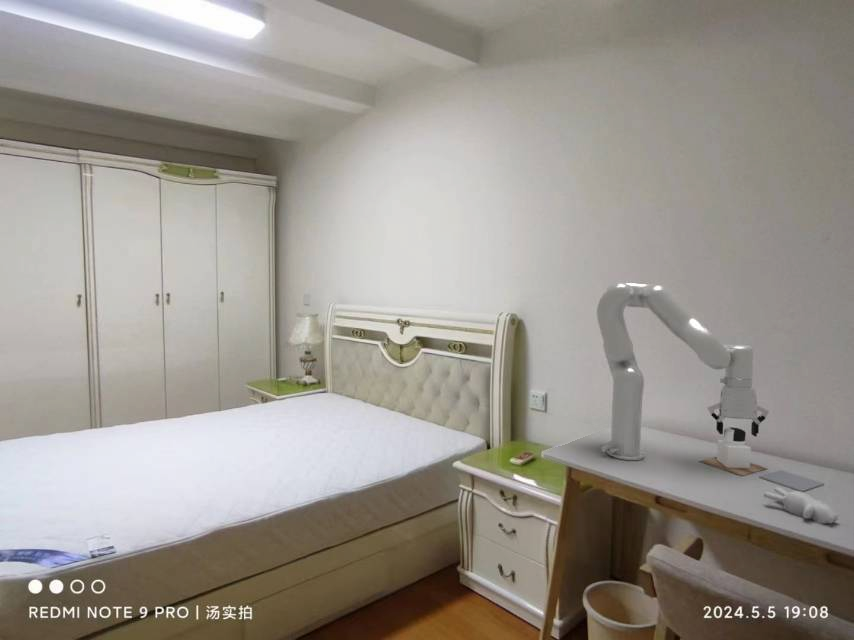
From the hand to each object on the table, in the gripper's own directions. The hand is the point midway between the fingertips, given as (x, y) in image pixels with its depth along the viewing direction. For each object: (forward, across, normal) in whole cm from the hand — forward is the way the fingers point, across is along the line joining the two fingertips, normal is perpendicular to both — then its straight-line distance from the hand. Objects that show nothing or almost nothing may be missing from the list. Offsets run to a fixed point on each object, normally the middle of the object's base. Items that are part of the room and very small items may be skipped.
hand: (737, 434), depth 165 cm
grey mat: (+11, +12, -9) cm, 19 cm away
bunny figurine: (+11, +7, -33) cm, 36 cm away
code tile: (+10, -1, 0) cm, 11 cm away
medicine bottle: (+10, -1, 0) cm, 11 cm away
